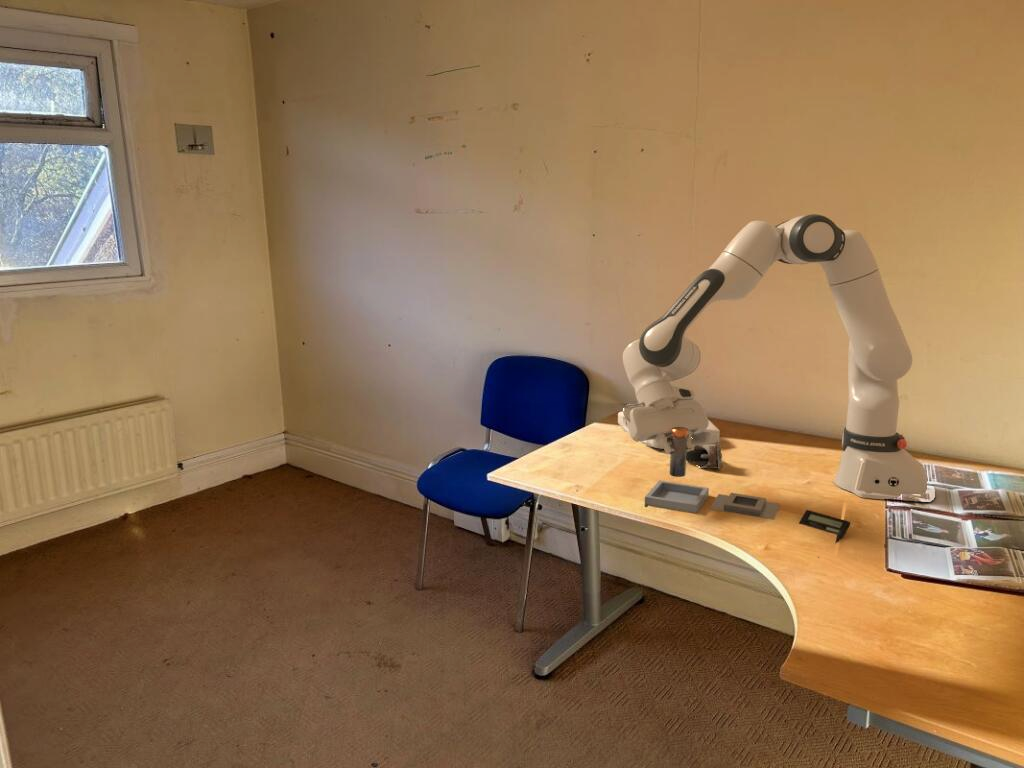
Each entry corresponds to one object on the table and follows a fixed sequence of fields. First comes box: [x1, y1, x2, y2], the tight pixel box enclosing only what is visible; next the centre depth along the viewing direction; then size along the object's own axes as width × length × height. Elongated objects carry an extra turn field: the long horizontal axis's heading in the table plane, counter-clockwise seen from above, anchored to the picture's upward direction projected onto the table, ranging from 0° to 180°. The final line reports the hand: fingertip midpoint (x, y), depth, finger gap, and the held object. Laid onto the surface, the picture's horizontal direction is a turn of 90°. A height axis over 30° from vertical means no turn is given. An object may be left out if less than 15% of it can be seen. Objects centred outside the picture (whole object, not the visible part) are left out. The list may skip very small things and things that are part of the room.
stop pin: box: [669, 427, 688, 478], centre depth 171 cm, size 4×4×11 cm
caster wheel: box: [686, 442, 723, 470], centre depth 200 cm, size 7×11×10 cm
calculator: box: [798, 509, 851, 545], centre depth 156 cm, size 9×12×3 cm
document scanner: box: [617, 410, 721, 450], centre depth 226 cm, size 21×28×6 cm
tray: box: [644, 480, 710, 514], centre depth 174 cm, size 12×12×2 cm
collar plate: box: [709, 492, 781, 520], centre depth 170 cm, size 14×10×2 cm
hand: (680, 451), depth 171 cm, fingers closed on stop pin, 4 cm apart
